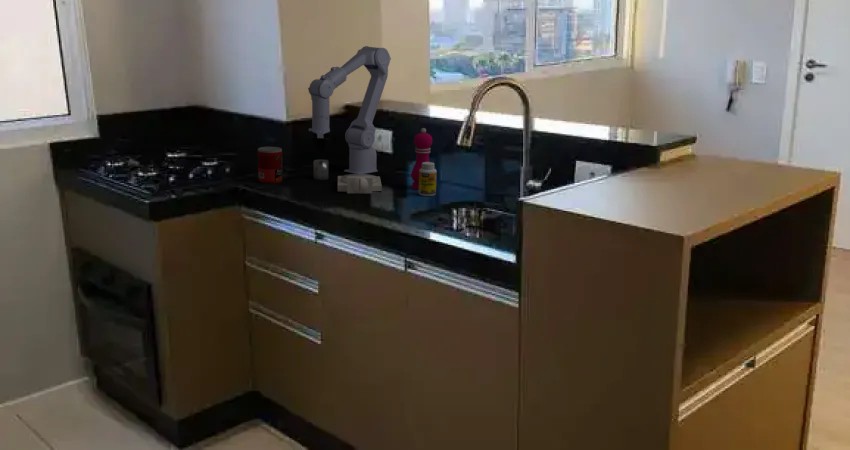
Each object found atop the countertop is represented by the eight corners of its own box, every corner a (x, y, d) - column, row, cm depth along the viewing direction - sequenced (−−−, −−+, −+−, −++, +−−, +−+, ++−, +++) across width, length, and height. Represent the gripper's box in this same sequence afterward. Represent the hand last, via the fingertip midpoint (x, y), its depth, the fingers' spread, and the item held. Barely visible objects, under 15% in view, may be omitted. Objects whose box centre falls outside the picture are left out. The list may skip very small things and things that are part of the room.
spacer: (321, 176, 282) (321, 158, 280) (331, 178, 279) (331, 161, 277) (310, 178, 278) (310, 160, 277) (320, 180, 275) (320, 162, 274)
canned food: (280, 184, 268) (279, 151, 265) (256, 183, 268) (255, 150, 265) (284, 179, 275) (284, 147, 272) (261, 178, 275) (260, 146, 272)
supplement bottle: (418, 196, 257) (419, 164, 254) (418, 192, 263) (419, 161, 260) (436, 196, 257) (437, 165, 255) (435, 192, 263) (436, 161, 260)
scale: (337, 181, 274) (338, 166, 272) (379, 182, 275) (379, 166, 274) (337, 193, 258) (337, 177, 256) (381, 193, 259) (382, 177, 258)
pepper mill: (430, 191, 264) (432, 130, 259) (408, 190, 265) (410, 128, 260) (434, 187, 271) (436, 127, 265) (413, 185, 272) (414, 125, 267)
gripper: (309, 112, 279) (309, 151, 283) (307, 118, 266) (308, 159, 269) (330, 113, 280) (330, 152, 284) (329, 119, 266) (329, 160, 270)
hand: (320, 155), depth 276 cm, fingers open, 7 cm apart
